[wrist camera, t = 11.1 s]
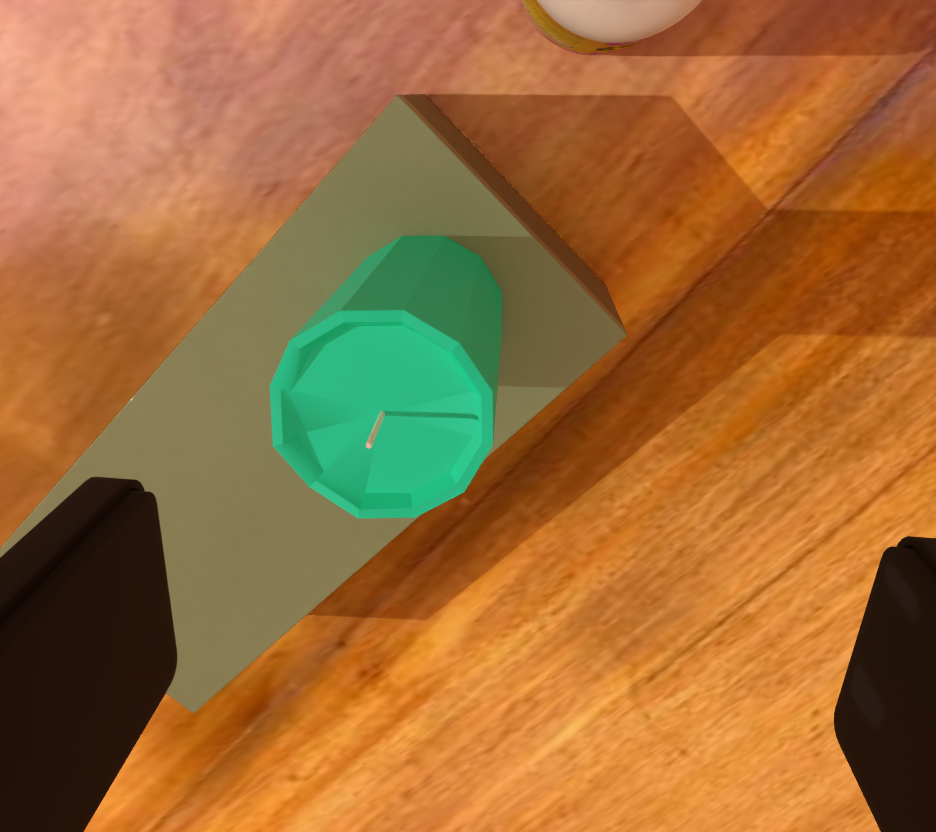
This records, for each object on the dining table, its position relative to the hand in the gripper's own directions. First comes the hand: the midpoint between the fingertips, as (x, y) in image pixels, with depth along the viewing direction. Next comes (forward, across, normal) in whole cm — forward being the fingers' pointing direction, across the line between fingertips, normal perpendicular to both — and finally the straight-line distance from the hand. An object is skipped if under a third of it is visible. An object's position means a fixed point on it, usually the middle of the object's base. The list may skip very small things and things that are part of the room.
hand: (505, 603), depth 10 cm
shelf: (+28, +10, +9) cm, 31 cm away
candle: (+20, +3, +2) cm, 21 cm away
